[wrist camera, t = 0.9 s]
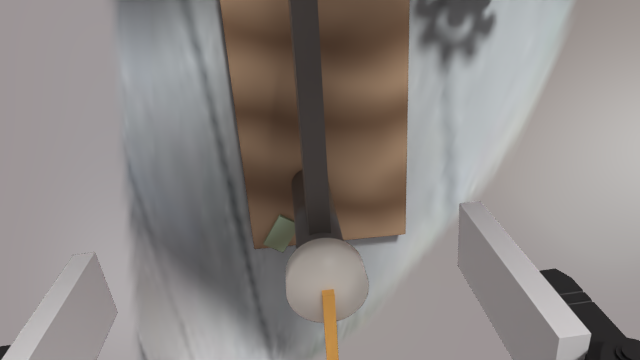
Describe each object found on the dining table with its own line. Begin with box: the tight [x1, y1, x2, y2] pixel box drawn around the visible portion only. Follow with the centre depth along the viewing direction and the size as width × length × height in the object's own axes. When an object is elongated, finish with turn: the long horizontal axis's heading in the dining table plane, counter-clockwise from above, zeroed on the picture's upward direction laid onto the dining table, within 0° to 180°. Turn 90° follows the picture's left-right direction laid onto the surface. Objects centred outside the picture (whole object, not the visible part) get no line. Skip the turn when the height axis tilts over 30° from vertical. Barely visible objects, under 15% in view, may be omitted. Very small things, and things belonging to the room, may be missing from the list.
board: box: [220, 0, 409, 252], centre depth 39 cm, size 24×14×2 cm, turn 4°
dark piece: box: [285, 0, 369, 360], centre depth 31 cm, size 22×5×15 cm, turn 4°
